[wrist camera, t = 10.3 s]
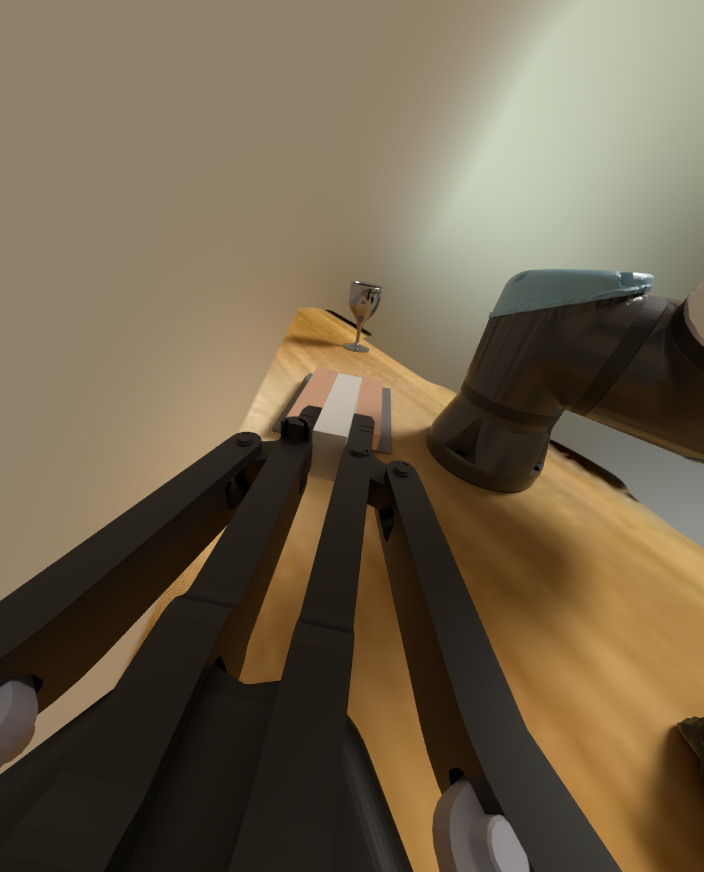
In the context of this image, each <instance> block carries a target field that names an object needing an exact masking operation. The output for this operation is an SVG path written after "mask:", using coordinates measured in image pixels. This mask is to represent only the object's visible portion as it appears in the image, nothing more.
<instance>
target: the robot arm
mask: <svg viewBox="0 0 704 872" xmlns="http://www.w3.org/2000/svg"><path fill="white" fill-rule="evenodd" d="M653 281H654V277H653V276H652V275H650V274H645V273H636V272H618V271H605V270H574V269H572V270H571V269H567V270H565V269H543V270H528V271H524V272H520V273H518V274H516V275H515V276H514V277H512V278H511V279H510V280H509V281H508V282H507V284H506V285H505V287H504V289H503V291H502V293H501V295H500V298H499V299H498V302H497V304H496V306H495V308H494V310H493V312H491V313H490V315H489V321H488V323H487V326H486V328H485V331H484V333H483V336H482V338H481V340H480V343H479V345H478V347H477V350H476V353H475V355H474V357H473V360H472V362H471V364H470V367H469V370H468V372H467V374H466V377H465V379H464V382H463V384H462V386H461V388H460V391H459V393H458V394H457V395H456V396H455V398H454V399H453V400H452V401H451V402H450V403H449V404H448V406H447V407H446V408H445V409H444V410H443V411H442V412H441V414H440V415H439V416H438V417H437V418H436V419H435V421H434V422H433V424H432V426H431V428H430V431H429V434H428V437H427V443H428V446H429V449H430V451H431V452H432V454H433V455H434V456H435V458H436V459H437V460H438V461H439V462H440V463H441V464H442V465H443V466H445V467H446V468H447V469H448V470H450V471H451V472H453V473H454V474H456V475H457V476H459V477H461V478H463V479H465V480H467V481H469V482H471V483H473V484H476V485H478V486H481V487H484V488H487V489H491V490H496V491H502V492H518V491H523V490H526V489H528V488H529V487H530V486H531V485H532V484H533V483H534V482H535V480H536V479H537V478H538V476H539V475H540V473H541V471H542V469H543V466H544V461H545V457H546V453H547V449H548V444H549V440H550V436H551V431H552V429H553V427H554V425H555V423H556V422H557V421H558V419H559V418H560V416H561V415H562V413H563V412H564V411H565V410H567V411H570V412H573V413H576V414H578V415H581V416H584V417H586V418H589V419H591V420H593V421H596V422H599V423H601V424H603V425H606V426H608V427H611V428H613V429H616V430H618V431H621V432H623V433H626V434H628V435H631V436H633V437H636V438H638V439H641V440H643V441H646V442H648V443H651V444H653V445H656V446H658V447H661V448H663V449H666V450H668V451H671V452H673V453H676V454H678V455H681V456H683V457H684V458H686V459H688V460H691V461H694V462H697V463H702V464H704V281H703V282H702V283H701V284H700V285H699V286H698V287H696V288H695V289H694V290H693V291H692V293H691V294H690V295H689V296H688V297H687V298H686V299H685V301H681V300H675V299H669V298H662V297H657V296H651V295H647V294H645V293H646V292H649V291H650V290H651V289H652V288H653ZM361 381H362V377H357V376H351V375H346V374H341V373H338V376H337V378H336V380H335V382H334V384H333V387H332V389H331V391H330V393H329V396H328V398H327V400H326V402H325V404H324V407H323V408H322V407H316V406H311V405H308V406H307V407H305V408H303V409H302V411H301V413H300V415H299V416H291V417H287V418H284V419H283V420H282V421H281V437H280V439H279V440H276V441H261V437H260V436H259V435H258V434H256V433H252V432H241V433H237V434H235V435H233V436H231V437H230V438H229V439H227V440H226V441H224V442H223V443H222V444H220V445H219V446H217V447H216V448H215V449H213V450H212V451H210V452H209V453H208V454H206V455H205V456H203V457H202V458H201V459H199V460H198V461H196V462H195V463H194V464H192V465H191V466H189V467H188V468H186V469H185V470H184V471H182V472H181V473H179V474H178V475H177V476H175V477H174V478H172V479H171V480H170V481H168V482H167V483H165V484H164V485H163V486H161V487H160V488H158V489H157V490H156V491H154V492H153V493H152V494H150V495H149V496H147V497H146V498H145V499H143V500H142V501H140V502H139V503H137V504H136V505H134V506H133V507H132V508H130V509H129V510H127V511H126V512H125V513H123V514H122V515H120V516H119V517H118V518H116V519H115V520H113V521H112V522H111V523H109V524H108V525H106V526H105V527H104V528H102V529H101V530H100V531H98V532H97V533H95V534H94V535H92V536H91V537H90V538H88V539H87V540H85V541H84V542H82V543H81V544H80V545H78V546H77V547H75V548H74V549H73V550H71V551H70V552H69V553H67V554H66V555H65V556H63V557H62V558H60V559H59V560H58V561H56V562H54V563H53V564H52V565H50V566H49V567H47V568H46V569H45V570H43V571H42V572H40V573H39V574H38V575H36V576H35V577H33V578H32V579H31V580H29V581H28V582H26V583H25V584H23V585H22V586H21V587H19V588H18V589H16V590H15V591H14V592H12V593H11V594H10V595H8V596H7V597H5V598H4V599H3V600H1V601H0V767H1V766H2V765H3V764H5V763H7V762H10V761H12V760H13V759H14V758H16V757H17V756H18V755H19V754H21V753H22V752H23V750H24V749H25V748H26V747H27V745H28V744H29V743H30V741H31V739H32V737H33V735H34V732H35V731H34V730H35V725H34V724H35V720H36V717H37V715H38V714H39V713H40V712H42V711H43V710H44V709H46V708H47V707H48V706H49V705H51V704H52V703H53V702H54V701H56V700H57V699H58V698H59V697H60V696H62V695H63V694H64V693H65V692H66V691H67V690H68V689H69V688H70V687H72V686H73V685H74V684H75V683H76V682H77V681H79V680H80V679H81V678H82V677H83V676H84V675H85V674H86V673H87V672H88V671H89V670H90V669H91V668H92V667H93V666H94V665H95V664H96V663H97V662H98V661H99V660H100V659H101V658H102V657H103V656H104V655H105V654H106V653H107V652H108V651H109V650H110V649H111V647H113V646H114V644H115V643H116V642H117V641H118V640H119V639H120V638H121V637H122V636H123V635H124V634H125V633H126V632H127V631H128V630H129V629H130V627H131V626H132V625H133V624H134V623H135V622H136V621H137V620H138V619H139V618H140V617H141V616H142V615H143V614H144V613H145V612H146V610H147V609H148V608H149V607H150V606H151V605H152V604H153V603H154V602H155V601H156V600H157V599H158V598H159V597H160V596H161V595H162V594H163V593H164V592H165V590H166V589H167V588H168V587H169V586H170V585H171V584H172V583H173V582H174V581H175V580H176V579H177V578H178V577H179V576H180V575H181V574H182V572H183V571H184V570H185V569H186V568H187V567H188V566H189V565H190V564H191V563H192V562H193V561H194V560H195V559H196V558H197V557H198V556H199V554H200V553H201V552H202V551H203V550H204V549H205V548H206V547H207V546H208V545H209V544H210V543H211V542H212V541H213V540H214V539H215V538H216V536H217V535H218V534H219V533H220V532H221V531H222V530H223V529H224V528H225V527H226V526H227V527H226V529H225V530H224V532H223V534H222V535H221V537H220V539H219V540H218V542H217V544H216V545H215V547H214V549H213V550H212V552H211V554H210V555H209V557H208V559H207V560H206V562H205V564H204V565H203V567H202V569H201V570H200V572H199V574H198V575H197V577H196V579H195V580H194V582H193V584H192V585H191V587H190V588H189V590H188V591H187V592H186V593H185V594H183V595H180V596H177V597H175V598H174V599H173V600H172V601H171V602H170V603H169V604H168V606H167V607H166V608H165V610H164V611H163V612H162V614H161V616H160V617H159V619H158V620H157V622H156V623H155V625H154V627H153V628H152V630H151V631H150V633H149V634H148V636H147V638H146V639H145V641H144V642H143V644H142V645H141V647H140V649H139V650H138V652H137V653H136V655H135V656H134V658H133V659H132V661H131V663H130V664H129V666H128V667H127V669H126V670H125V672H124V674H123V675H122V677H121V678H120V680H119V681H118V683H117V685H116V686H115V688H114V689H113V690H111V691H110V692H108V693H107V694H106V695H104V696H103V697H102V698H100V699H99V700H98V701H97V702H95V703H94V704H93V705H91V706H90V707H89V708H87V709H86V710H85V711H83V712H82V713H81V714H79V716H77V717H75V718H74V719H73V720H72V721H70V722H69V723H68V724H66V725H65V726H64V727H62V728H61V729H60V730H58V731H57V732H56V733H54V734H53V735H52V736H51V737H49V738H48V739H46V740H45V741H44V742H43V743H41V744H40V745H39V746H37V747H36V748H35V749H33V750H32V751H31V752H29V753H28V754H27V755H25V756H24V757H23V758H21V759H20V760H19V761H17V762H16V763H15V764H14V765H12V766H11V767H10V768H8V769H7V770H6V771H4V772H3V773H2V774H0V872H413V869H412V867H411V864H410V861H409V859H408V856H407V854H406V851H405V848H404V846H403V843H402V840H401V838H400V835H399V832H398V830H397V827H396V825H395V822H394V819H393V817H392V814H391V811H390V809H389V806H388V803H387V801H386V798H385V795H384V793H383V790H382V788H381V785H380V782H379V780H378V777H377V774H376V772H375V769H374V766H373V764H372V761H371V758H370V756H369V753H368V750H367V748H366V745H365V743H364V741H363V739H362V737H361V735H360V733H359V731H358V729H357V727H356V726H355V724H354V723H353V721H352V720H351V718H350V717H349V716H348V715H347V706H348V697H349V687H350V678H351V668H352V658H353V648H354V630H353V627H354V616H355V607H356V598H357V589H358V580H359V571H360V562H361V553H362V544H363V535H364V526H365V517H366V508H367V504H368V505H370V506H372V507H374V508H375V515H376V520H377V524H378V529H379V534H380V538H381V543H382V548H383V552H384V557H385V562H386V566H387V571H388V576H389V581H390V585H391V590H392V595H393V599H394V604H395V609H396V613H397V618H398V623H399V627H400V632H401V637H402V641H403V646H404V651H405V655H406V660H407V665H408V670H409V674H410V679H411V684H412V688H413V693H414V698H415V702H416V707H417V712H418V716H419V721H420V725H421V729H422V733H423V737H424V741H425V745H426V749H427V753H428V756H429V759H430V762H431V765H432V768H433V771H434V774H435V777H436V780H437V784H438V786H439V789H440V791H441V794H442V796H441V798H440V799H439V801H438V802H437V805H436V808H435V811H434V816H433V827H432V831H433V844H434V850H435V854H436V858H437V862H438V867H439V871H440V872H622V871H621V869H620V868H619V866H618V865H617V863H616V862H615V860H614V859H613V857H612V856H611V854H610V853H609V851H608V850H607V848H606V847H605V845H604V844H603V842H602V841H601V839H600V838H599V836H598V835H597V833H596V832H595V830H594V829H593V827H592V826H591V824H590V823H589V821H588V820H587V818H586V817H585V815H584V814H583V812H582V811H581V809H580V808H579V806H578V805H577V803H576V802H575V800H574V799H573V797H572V796H571V794H570V793H569V791H568V790H567V788H566V787H565V785H564V784H563V782H562V781H561V779H560V778H559V776H558V775H557V773H556V772H555V770H554V769H553V767H552V766H551V764H550V763H549V761H548V760H547V758H546V757H545V755H544V754H543V752H542V751H541V749H540V748H539V746H538V745H537V743H536V742H535V740H534V739H533V737H532V736H531V734H530V733H529V731H528V730H527V728H526V726H525V723H524V721H523V719H522V716H521V714H520V712H519V709H518V707H517V705H516V702H515V700H514V697H513V695H512V693H511V690H510V688H509V686H508V683H507V681H506V679H505V676H504V674H503V672H502V669H501V667H500V665H499V662H498V660H497V658H496V655H495V653H494V651H493V648H492V646H491V644H490V641H489V639H488V637H487V634H486V632H485V630H484V627H483V625H482V623H481V620H480V618H479V616H478V613H477V611H476V609H475V606H474V604H473V602H472V599H471V597H470V595H469V592H468V590H467V588H466V585H465V583H464V581H463V578H462V576H461V574H460V571H459V569H458V567H457V564H456V562H455V560H454V557H453V555H452V553H451V550H450V548H449V546H448V543H447V541H446V539H445V536H444V534H443V532H442V529H441V527H440V525H439V522H438V520H437V518H436V515H435V513H434V511H433V508H432V506H431V504H430V501H429V499H428V497H427V494H426V492H425V490H424V487H423V485H422V483H421V480H420V478H419V476H418V473H417V471H416V470H415V468H414V467H413V466H412V465H410V464H409V463H406V462H404V461H399V460H397V461H392V462H390V463H389V464H385V463H383V462H381V461H379V460H378V459H377V458H375V456H374V455H373V453H372V443H373V435H374V426H375V421H374V420H373V418H372V416H366V415H361V414H356V409H357V404H358V398H359V392H360V387H361ZM309 471H310V475H309V476H312V477H317V478H322V479H327V480H332V481H335V483H334V487H333V490H332V494H331V498H330V502H329V506H328V510H327V513H326V517H325V521H324V525H323V529H322V533H321V536H320V540H319V544H318V548H317V552H316V556H315V559H314V563H313V567H312V571H311V575H310V579H309V582H308V586H307V590H306V594H305V598H304V602H303V605H302V609H301V613H300V616H299V619H298V621H297V623H296V626H295V629H294V633H293V636H292V640H291V644H290V647H289V651H288V655H287V659H286V662H285V666H284V670H283V674H282V677H281V680H280V681H272V682H264V683H257V684H244V683H242V682H240V681H239V680H238V679H239V677H240V674H241V671H242V668H243V664H244V660H245V656H246V650H247V646H248V642H249V639H250V636H251V633H252V631H253V628H254V625H255V623H256V620H257V617H258V615H259V612H260V609H261V606H262V604H263V601H264V598H265V596H266V593H267V590H268V587H269V585H270V582H271V579H272V577H273V574H274V571H275V569H276V566H277V563H278V560H279V558H280V555H281V552H282V550H283V547H284V544H285V541H286V539H287V536H288V533H289V531H290V528H291V525H292V523H293V520H294V517H295V514H296V512H297V509H298V506H299V504H300V501H301V498H302V496H303V493H304V490H305V487H306V485H307V476H308V473H309Z"/></svg>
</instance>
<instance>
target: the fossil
mask: <svg viewBox="0 0 704 872" xmlns="http://www.w3.org/2000/svg"><path fill="white" fill-rule="evenodd" d="M677 726H678V729H679V731H680V732H681V734H682V735H683V737H684V738H685V739H686V741H687V742H688V743H689V745H690V746H691V748H692V749H693V751H694V752H695V753H696V754H697V755H698V756H699V757H700V758H701V774H702V776H703V779H704V717H702V718H698V717H695V716H694V717H693V718H686V719H685V720H683V721H682V722H680V723H677Z"/></svg>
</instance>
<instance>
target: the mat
mask: <svg viewBox="0 0 704 872" xmlns="http://www.w3.org/2000/svg"><path fill="white" fill-rule="evenodd" d="M312 375H313V374H311V373H309V374H308V376H307V377H306V379H305V380H304V382H303V383H302V385H301V386H300V388H299V389H298V391H297V392H296V394H295V395H294V397H293V398H292V400H291V401H290V403H289V404H288V406H287V407H286V409H285V410H284V412H283V413H282V415H281V416H280V418H279V419H278V421H277V422H276V424H275V425H274V427H273V431H276V432H281V421H282V420H283V419H284V418H286V417H287V415H288V413H289V412H290V410H291V409H292V407H293V405H294V404H295V402H296V401H297V399H298V397H299V396H300V394H301V393H302V391H303V389H304V388H305V386H306V385H307V383H308V382H309V380H310V378H311V377H312ZM374 451H379V452H384V453H389V454H391V398H390V389H388V388H383V389H382V413H381V435H380V439H379V443H378V447H377V450H374Z"/></svg>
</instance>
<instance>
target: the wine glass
mask: <svg viewBox="0 0 704 872" xmlns="http://www.w3.org/2000/svg"><path fill="white" fill-rule="evenodd" d="M382 291H383V287H381V286H378V285H375V284H370V283H365V282H357V281H350V287H349V306H350V310H351V312H352V314H353V315H354V317H355V319H356V322H357V337H356V342H355V343H346V344H344V345H343V347H344V348H346V349H348V350H351V351H355V352H368V351H369V348H368V347H366V346H364V345H361V344H359V337H360V333H361V329H362V326H363V325H364V323H365V322H366V321H367V320H368V319H369V318H370V317H371V316H372V315H373V314H374V313H375V312H376V310H377V308H378V306H379V303H380V300H381V296H382Z"/></svg>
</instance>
